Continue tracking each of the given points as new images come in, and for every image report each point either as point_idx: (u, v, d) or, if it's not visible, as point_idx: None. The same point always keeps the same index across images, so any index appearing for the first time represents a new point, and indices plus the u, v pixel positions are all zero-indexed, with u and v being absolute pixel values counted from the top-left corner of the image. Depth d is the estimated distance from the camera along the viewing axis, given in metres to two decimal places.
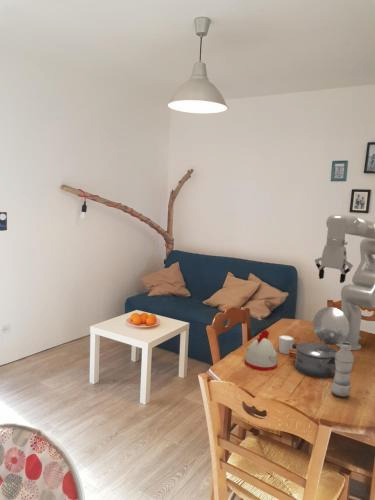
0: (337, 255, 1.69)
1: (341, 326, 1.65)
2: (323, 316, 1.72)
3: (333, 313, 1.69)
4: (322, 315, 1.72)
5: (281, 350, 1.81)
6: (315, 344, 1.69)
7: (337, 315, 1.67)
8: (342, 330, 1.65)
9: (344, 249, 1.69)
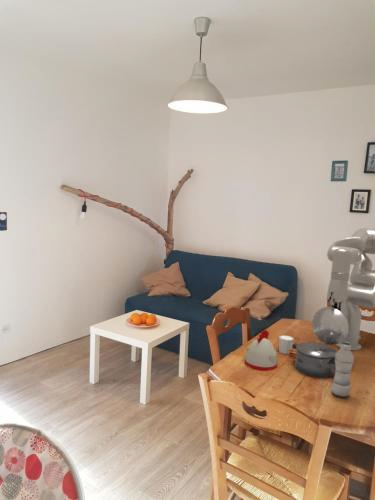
0: (346, 288, 1.70)
1: (340, 326, 1.65)
2: (322, 316, 1.71)
3: (332, 313, 1.68)
4: (321, 315, 1.72)
5: (281, 350, 1.81)
6: (315, 344, 1.69)
7: (336, 315, 1.66)
8: (341, 330, 1.64)
9: None
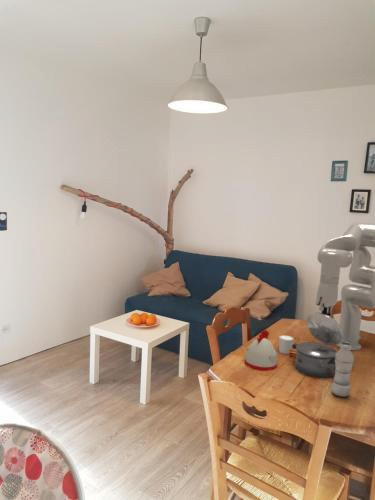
0: (335, 292, 1.64)
1: (334, 330, 1.62)
2: (314, 321, 1.67)
3: (322, 319, 1.63)
4: (313, 320, 1.67)
5: (281, 350, 1.81)
6: (315, 344, 1.69)
7: (327, 321, 1.62)
8: (336, 334, 1.61)
9: None
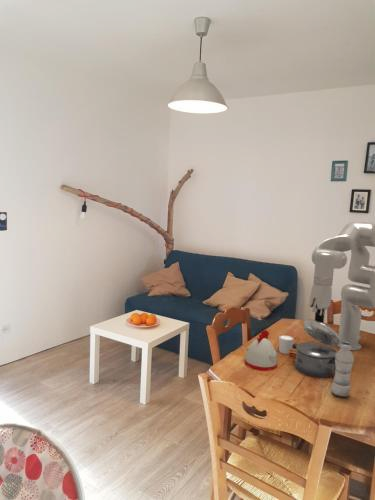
0: (329, 294, 1.60)
1: (330, 335, 1.60)
2: (310, 327, 1.66)
3: (317, 326, 1.61)
4: (309, 326, 1.66)
5: (281, 350, 1.81)
6: (315, 344, 1.69)
7: (322, 328, 1.60)
8: (333, 338, 1.60)
9: None
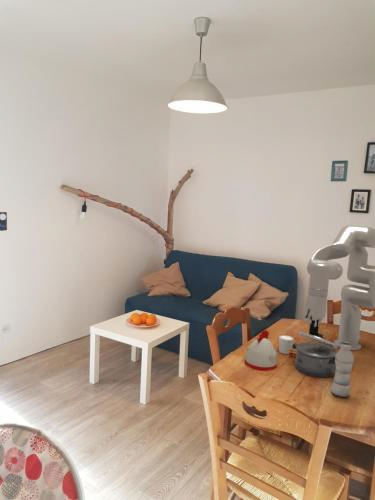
0: (324, 305, 1.59)
1: (327, 344, 1.59)
2: (306, 336, 1.64)
3: (312, 338, 1.59)
4: (304, 336, 1.64)
5: (281, 350, 1.81)
6: (315, 344, 1.69)
7: (316, 339, 1.58)
8: (330, 345, 1.59)
9: None
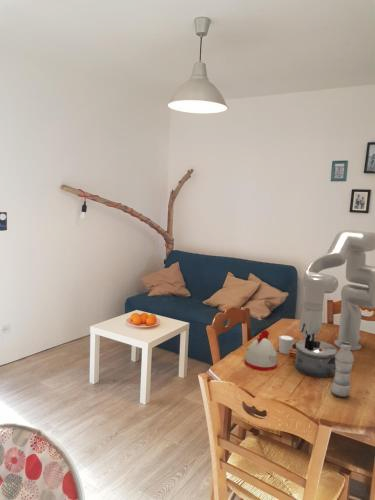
0: (319, 319, 1.58)
1: None
2: None
3: None
4: None
5: (281, 350, 1.81)
6: None
7: None
8: None
9: None
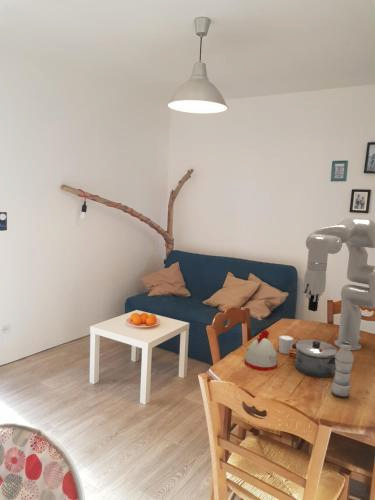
0: (323, 279, 1.56)
1: None
2: None
3: None
4: None
5: (281, 350, 1.81)
6: None
7: None
8: None
9: None
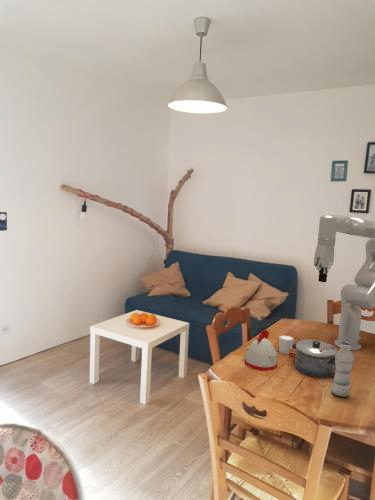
0: (332, 254, 1.76)
1: None
2: None
3: None
4: None
5: (281, 350, 1.81)
6: None
7: None
8: None
9: None
